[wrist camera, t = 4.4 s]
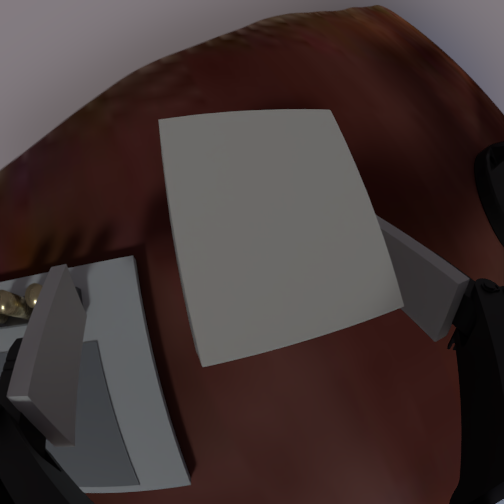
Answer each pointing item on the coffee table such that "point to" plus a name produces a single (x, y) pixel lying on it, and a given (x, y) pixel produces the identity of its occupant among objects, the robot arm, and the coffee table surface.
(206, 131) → the plug block
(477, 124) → the coffee table surface
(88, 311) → the board
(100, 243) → the coffee table surface
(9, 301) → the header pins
